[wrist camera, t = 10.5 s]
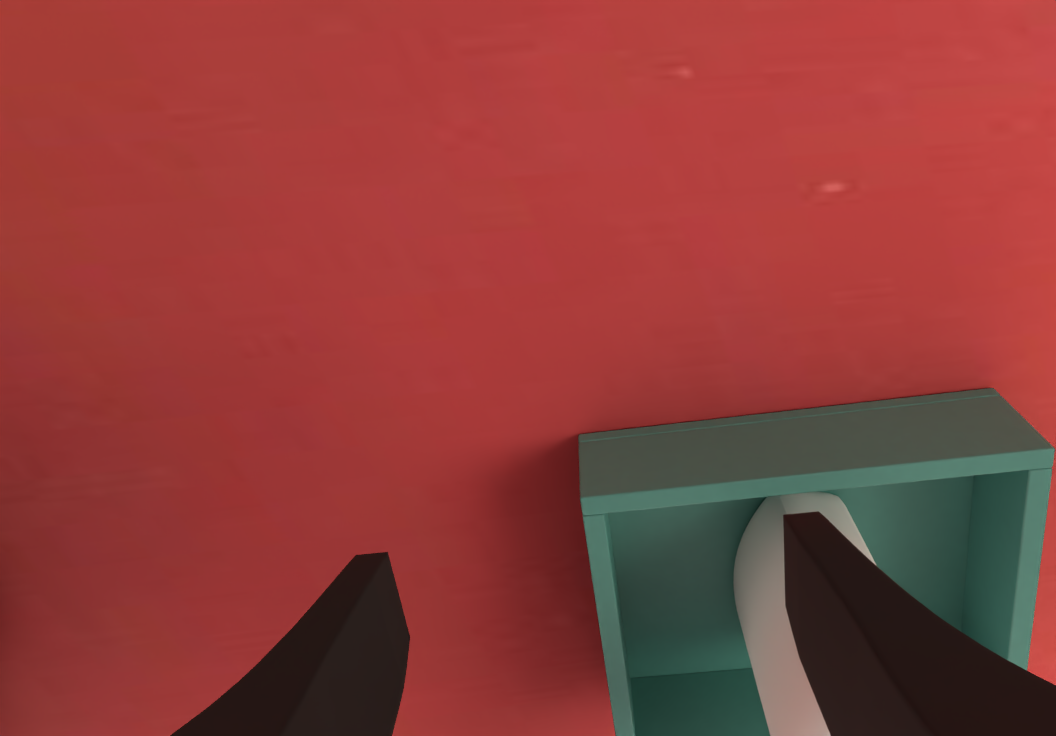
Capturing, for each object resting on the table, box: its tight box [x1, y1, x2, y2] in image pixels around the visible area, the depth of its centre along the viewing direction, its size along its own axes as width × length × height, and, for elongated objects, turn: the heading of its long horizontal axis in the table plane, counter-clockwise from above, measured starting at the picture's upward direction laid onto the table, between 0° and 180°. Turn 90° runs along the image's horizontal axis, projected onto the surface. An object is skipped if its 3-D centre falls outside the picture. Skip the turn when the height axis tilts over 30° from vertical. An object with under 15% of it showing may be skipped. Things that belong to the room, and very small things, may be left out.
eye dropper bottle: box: [733, 492, 877, 736], centre depth 22 cm, size 4×6×12 cm
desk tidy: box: [578, 388, 1055, 736], centre depth 26 cm, size 10×12×4 cm
